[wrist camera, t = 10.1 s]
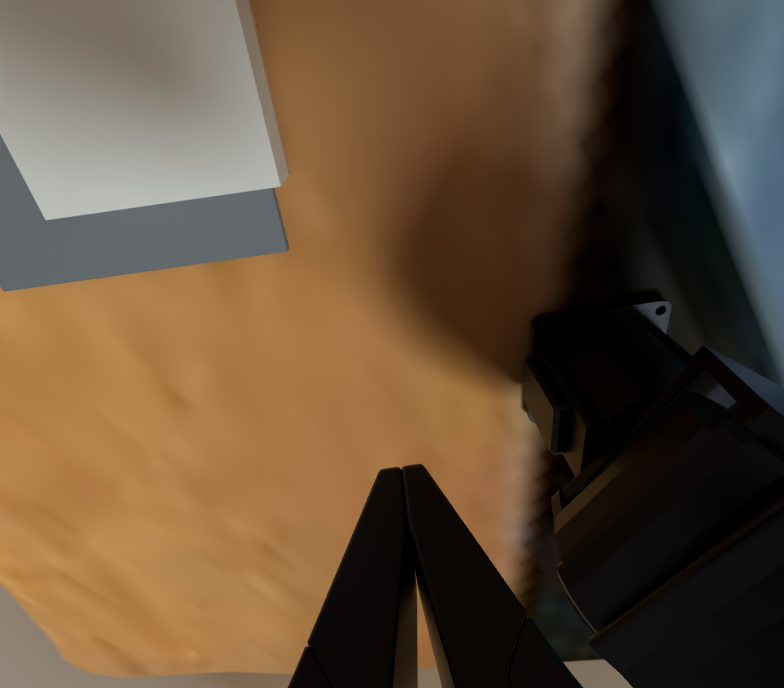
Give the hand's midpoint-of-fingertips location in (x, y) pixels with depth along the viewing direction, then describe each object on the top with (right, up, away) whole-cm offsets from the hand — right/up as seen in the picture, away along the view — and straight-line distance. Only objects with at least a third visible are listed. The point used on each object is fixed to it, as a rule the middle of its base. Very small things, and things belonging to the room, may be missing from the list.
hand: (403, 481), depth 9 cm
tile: (-4, +12, +5) cm, 14 cm away
